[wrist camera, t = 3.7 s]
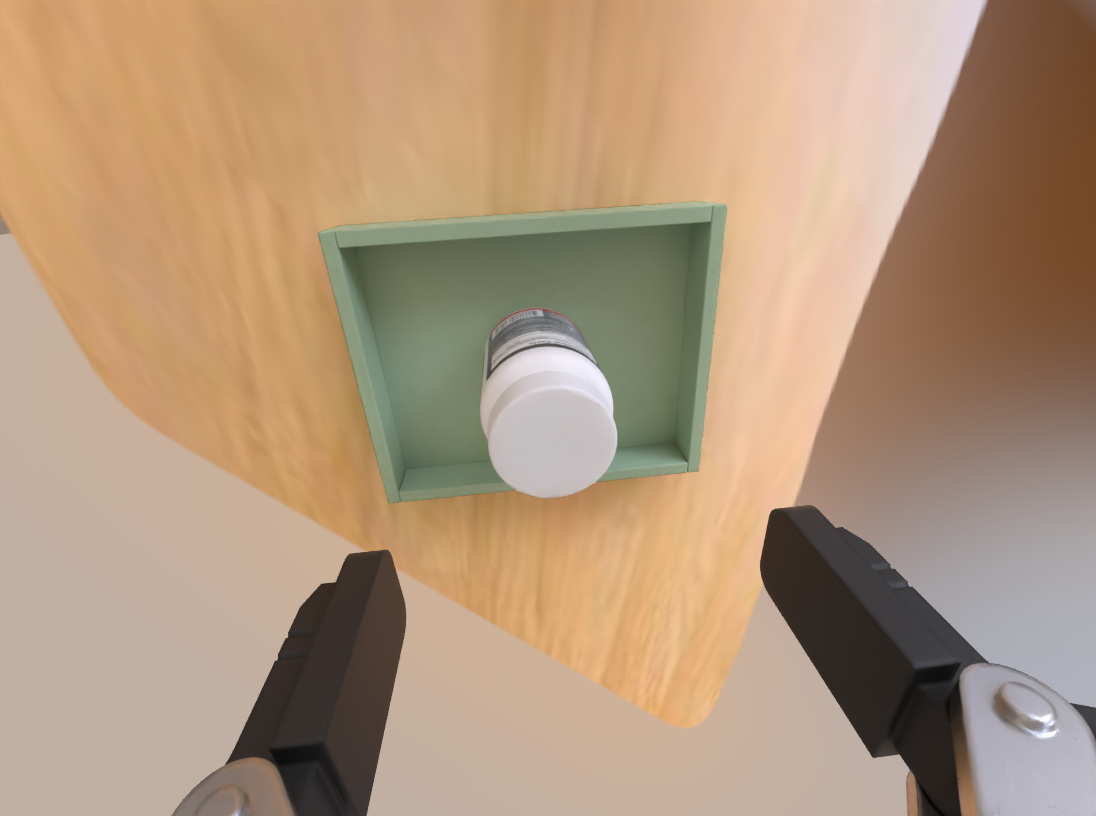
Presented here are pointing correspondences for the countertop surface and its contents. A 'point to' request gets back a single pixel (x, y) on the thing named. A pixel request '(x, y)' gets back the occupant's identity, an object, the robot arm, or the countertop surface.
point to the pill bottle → (545, 405)
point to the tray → (508, 286)
